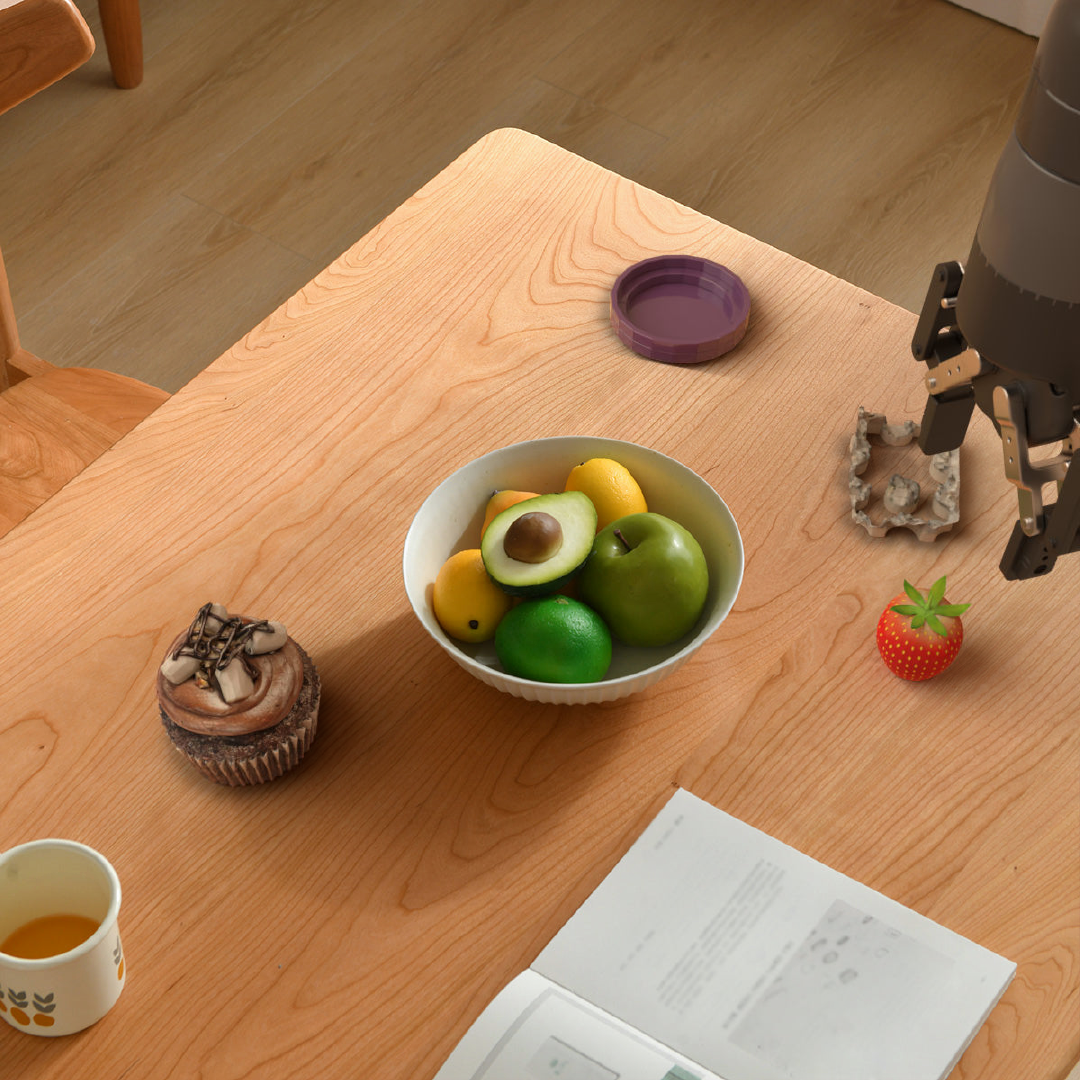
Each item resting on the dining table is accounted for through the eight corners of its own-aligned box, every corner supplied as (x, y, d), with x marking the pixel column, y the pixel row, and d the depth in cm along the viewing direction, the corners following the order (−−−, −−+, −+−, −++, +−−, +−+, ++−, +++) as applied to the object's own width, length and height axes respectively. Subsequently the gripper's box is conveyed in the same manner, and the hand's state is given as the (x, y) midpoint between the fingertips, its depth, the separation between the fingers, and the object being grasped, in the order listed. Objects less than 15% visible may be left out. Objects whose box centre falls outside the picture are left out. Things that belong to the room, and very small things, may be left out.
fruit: (952, 708, 85) (983, 632, 79) (869, 704, 86) (893, 628, 79) (940, 639, 89) (969, 561, 83) (861, 636, 89) (884, 558, 83)
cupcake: (152, 795, 82) (111, 702, 74) (205, 665, 88) (172, 567, 80) (306, 819, 80) (280, 727, 73) (348, 685, 87) (328, 587, 79)
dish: (758, 293, 112) (762, 268, 110) (730, 381, 105) (734, 355, 103) (629, 269, 114) (630, 244, 112) (593, 353, 107) (594, 328, 105)
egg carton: (846, 439, 101) (855, 399, 98) (949, 453, 100) (962, 412, 97) (839, 546, 94) (849, 506, 91) (950, 561, 93) (964, 522, 90)
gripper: (1263, 333, 50) (1123, 601, 63) (1066, 127, 59) (977, 396, 72) (1083, 372, 49) (977, 637, 62) (909, 155, 58) (847, 424, 70)
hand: (977, 507), depth 67 cm, fingers open, 8 cm apart
